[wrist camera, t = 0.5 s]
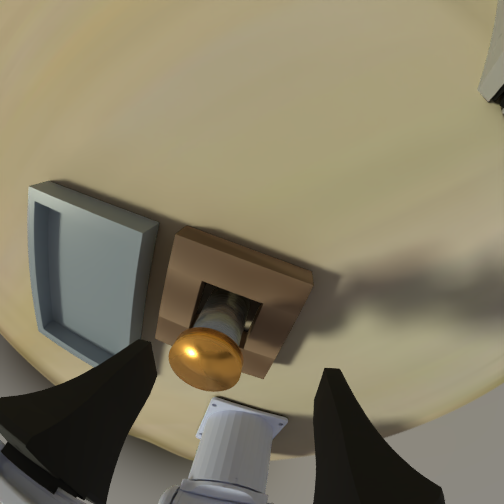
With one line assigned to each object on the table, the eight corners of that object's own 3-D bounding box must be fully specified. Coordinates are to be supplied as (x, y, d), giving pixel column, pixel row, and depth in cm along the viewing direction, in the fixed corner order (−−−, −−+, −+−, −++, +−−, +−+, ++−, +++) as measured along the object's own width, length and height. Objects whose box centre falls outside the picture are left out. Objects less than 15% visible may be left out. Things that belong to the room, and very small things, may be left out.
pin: (246, 331, 21) (228, 399, 15) (198, 313, 21) (164, 375, 15) (264, 289, 20) (250, 355, 13) (211, 269, 20) (174, 327, 13)
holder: (266, 362, 22) (263, 379, 20) (164, 324, 22) (154, 338, 20) (311, 271, 19) (313, 285, 17) (186, 225, 19) (175, 234, 17)
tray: (137, 368, 25) (127, 385, 23) (51, 319, 25) (38, 331, 23) (159, 222, 19) (142, 233, 17) (48, 180, 19) (28, 186, 17)
